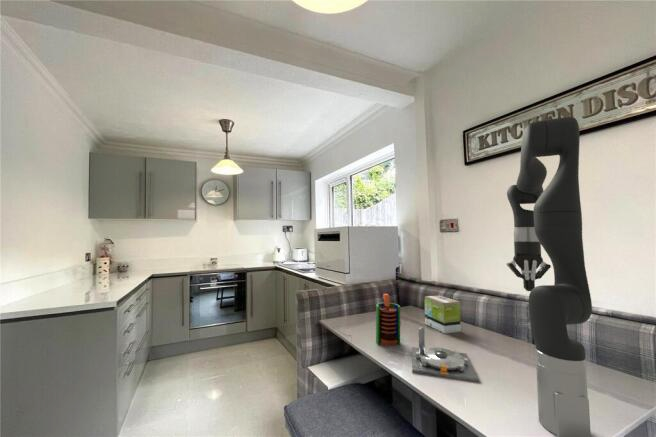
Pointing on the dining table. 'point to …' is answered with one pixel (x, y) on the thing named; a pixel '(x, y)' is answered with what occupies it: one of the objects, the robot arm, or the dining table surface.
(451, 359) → the sprocket
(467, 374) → the base plate
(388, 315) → the motor
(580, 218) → the robot arm
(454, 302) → the tea box
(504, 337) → the dining table surface
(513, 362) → the dining table surface
